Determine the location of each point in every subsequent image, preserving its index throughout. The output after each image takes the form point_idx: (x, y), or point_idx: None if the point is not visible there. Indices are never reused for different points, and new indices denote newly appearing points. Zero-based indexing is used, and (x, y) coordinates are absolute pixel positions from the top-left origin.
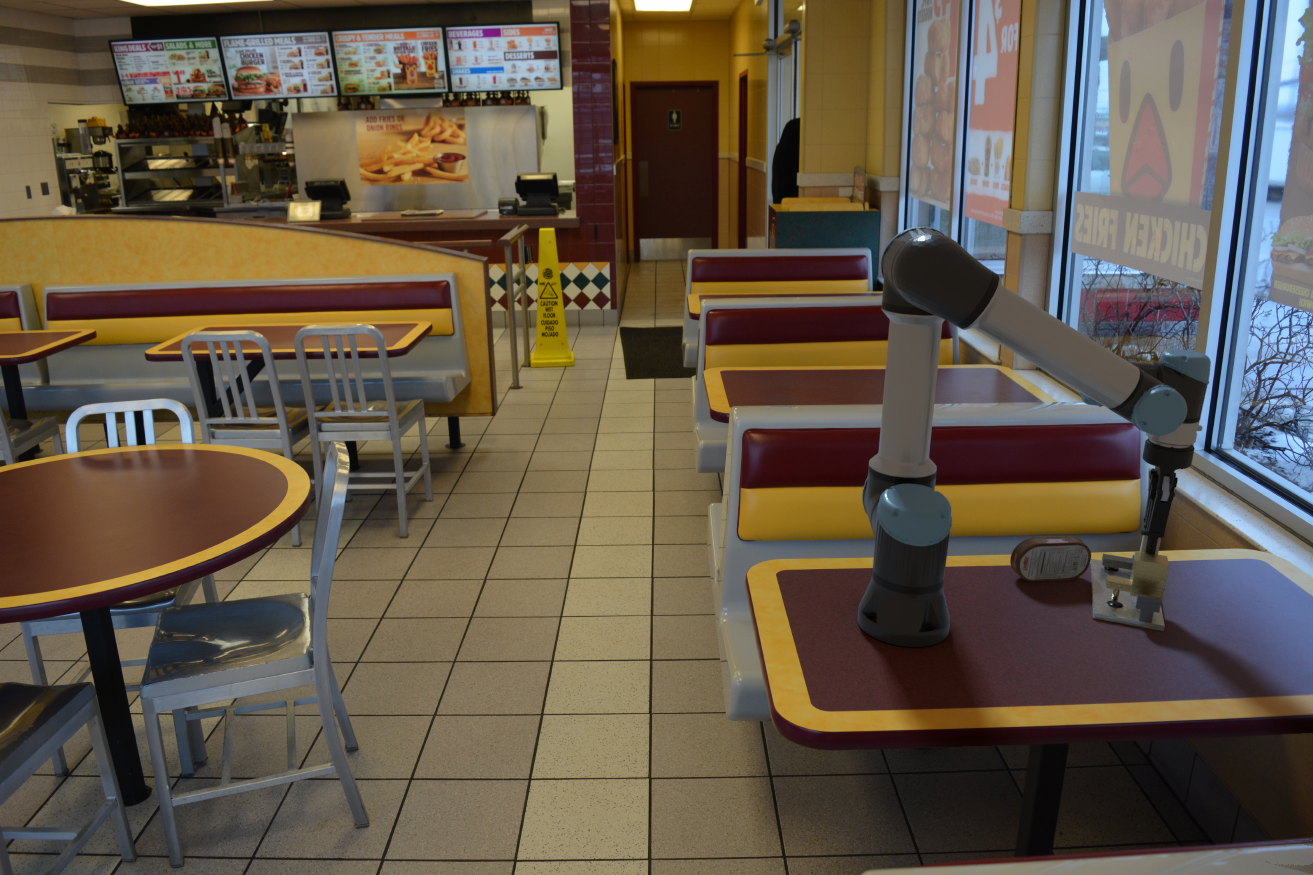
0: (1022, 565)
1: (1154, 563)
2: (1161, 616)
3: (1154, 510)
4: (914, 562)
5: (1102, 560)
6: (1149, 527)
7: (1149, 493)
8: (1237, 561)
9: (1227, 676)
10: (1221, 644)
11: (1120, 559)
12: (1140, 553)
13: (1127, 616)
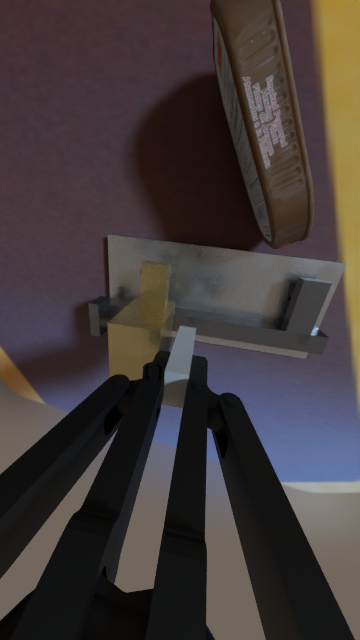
0: (216, 48)
1: (110, 353)
2: None
3: (12, 466)
4: None
5: (309, 279)
6: (89, 395)
7: (162, 537)
8: (356, 458)
9: (42, 358)
10: (109, 373)
11: (302, 311)
12: (149, 339)
13: (118, 284)
